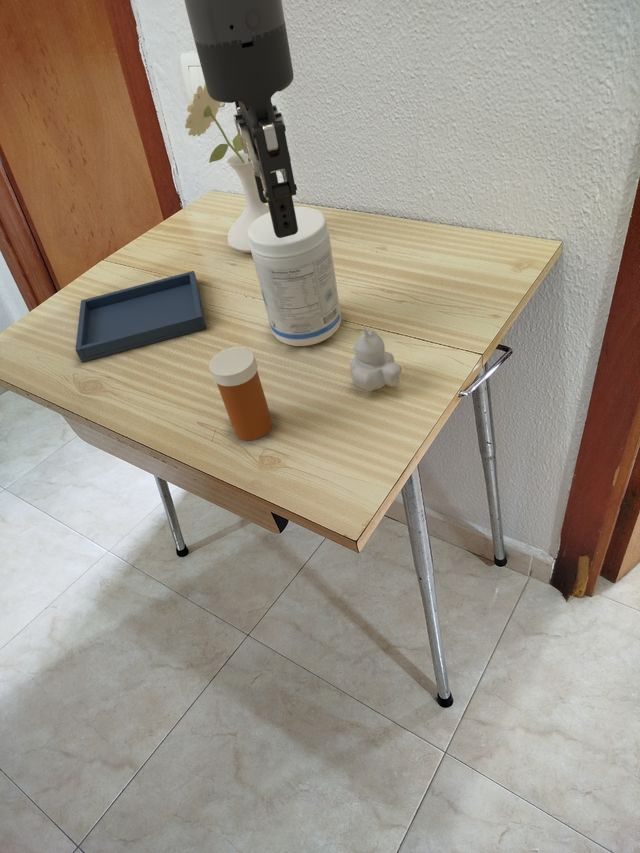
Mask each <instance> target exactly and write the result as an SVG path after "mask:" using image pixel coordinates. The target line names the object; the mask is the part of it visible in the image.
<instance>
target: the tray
mask: <svg viewBox="0 0 640 853" xmlns="http://www.w3.org/2000/svg"><path fill="white" fill-rule="evenodd" d="M206 329H207V324H206V319H205V314H204V308H203V304H202V297H201V292H200V286H199V282H198V279H197V275H196V273H195V270H191V271H188V272H184V273H180V274H177V275H173V276H169V277H165V278H164V277H163V278H162V279H157V280H154V281H149V282H146V283H143V284H137V285H134V286H131V287H127V288H123V289H119V290H115V291H112V292H108V293H104V294H100V295H96V296H93V297H88V298H84V299H81V300H80V306H79V315H78V324H77V333H76V342H75V352H76V354H77V356H78V358H79V360H80V362H81V363H85V362H88V361H92V360H96V359H99V358H104V357H106V356H110V355H113V354H117V353H122V352H126V351H129V350H133V349H136V348H140V347H144V346H148V345H151V344H155V343H159V342H163V341H166V340H170V339H173V338H177V337H181V336H185V335H189V334H192V333H195V332H199V331H203V330H206Z"/></svg>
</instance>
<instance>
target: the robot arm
mask: <svg viewBox="0 0 640 853" xmlns="http://www.w3.org/2000/svg"><path fill="white" fill-rule="evenodd" d="M184 5H185V9H186V14H187V18H188V21H189V25H190V28H191V32H192V36H193V40H194V45H195V49H196V52H197V56H198V60H199V64H200V68H201V72H202V75H203V80H204V84H205V83H206V87H207V91H208V94H209V96H210V97H211V98H212V99H214V100H215V101H218V102H221V103H224V104H233V103H234V106H235V110H236V114H233V121H234V124H235V127H236V131H237V134H239V135H240V140H241V144H242V147H243V149H242V151H243V152H244V153H246V154H248V157H247V158H248V162H250V164H251V166H252V169H253V173H254V177H255V181H256V185H257V190H258V194H259V198H260V200H261V202H262V203H264V204H267V206H269V210H270V215H271V220H272V224H273V229H274V232H275V235H276V236H277V237H278V238H283V237H287V236H291V235H294V234H296V233H297V232H298V226H297V220H296V215H295V210H294V207H295V204H294V199H293V196H297V191H298V187H297V183H295V178H294V173H293V168H292V157H291V154H290V151H289V146H288V141H287V136H286V131H287V129H286V124H285V121H284V117H283V113H282V112H279V111H278V107H277V105H276V104H273V103H272V97H273V96H274V95H275V94H276V93H277V92H282V91H284V90H286V89H287V88H288V87H290V85H291V84H292V83H293V81H294V78H295V77H294V69H293V63H292V62H293V61H292V55H291V50H290V45H289V38H288V32H287V25H286V19H285V14H284V13H285V12H284V7H283V1H282V0H184ZM277 172H280V173H281V176H282V179H283V181H281V182H279V178H278V174H277Z"/></svg>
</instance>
